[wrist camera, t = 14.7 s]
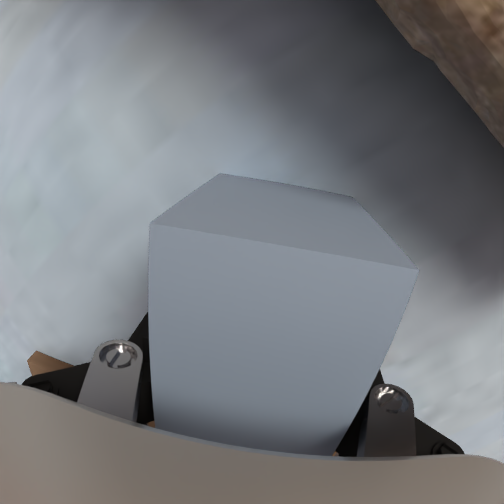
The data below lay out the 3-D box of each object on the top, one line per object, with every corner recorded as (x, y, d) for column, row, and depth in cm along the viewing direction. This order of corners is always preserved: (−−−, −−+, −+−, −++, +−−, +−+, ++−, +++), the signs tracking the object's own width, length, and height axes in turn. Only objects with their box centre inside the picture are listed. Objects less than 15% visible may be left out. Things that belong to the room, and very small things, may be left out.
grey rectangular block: (198, 391, 14) (164, 497, 9) (219, 173, 11) (149, 223, 5) (291, 407, 14) (289, 517, 9) (352, 196, 10) (419, 270, 5)
